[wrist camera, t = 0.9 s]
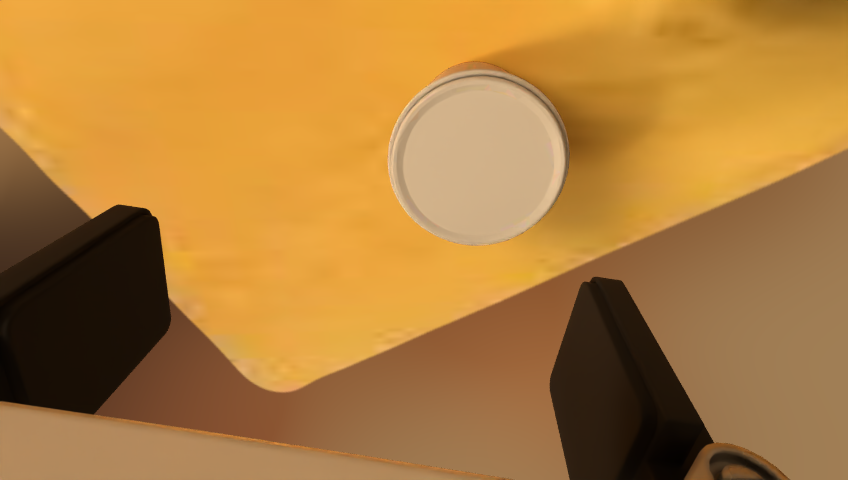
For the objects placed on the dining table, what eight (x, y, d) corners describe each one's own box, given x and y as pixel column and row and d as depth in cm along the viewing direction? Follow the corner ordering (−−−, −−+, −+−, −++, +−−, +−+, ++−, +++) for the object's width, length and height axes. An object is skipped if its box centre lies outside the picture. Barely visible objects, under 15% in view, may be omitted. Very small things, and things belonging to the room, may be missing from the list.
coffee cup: (500, 197, 38) (516, 275, 27) (389, 148, 36) (359, 210, 26) (563, 83, 34) (610, 122, 23) (440, 24, 32) (429, 36, 22)
